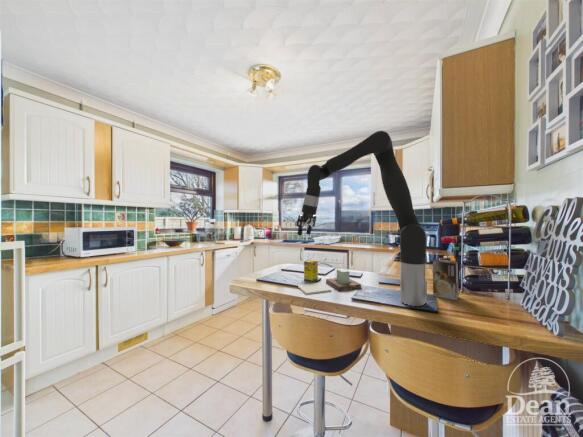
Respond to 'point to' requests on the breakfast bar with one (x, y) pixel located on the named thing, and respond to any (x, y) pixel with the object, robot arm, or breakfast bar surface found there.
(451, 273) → the coffee box
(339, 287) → the frame
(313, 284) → the tile mat
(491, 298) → the breakfast bar surface
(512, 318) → the breakfast bar surface
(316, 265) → the supplement box
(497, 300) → the breakfast bar surface
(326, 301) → the breakfast bar surface
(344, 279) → the sage block
